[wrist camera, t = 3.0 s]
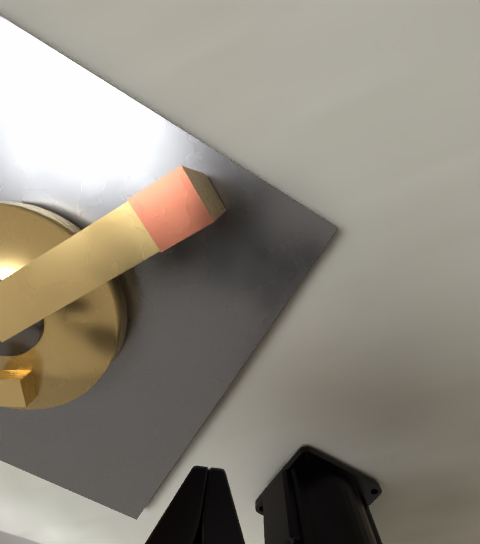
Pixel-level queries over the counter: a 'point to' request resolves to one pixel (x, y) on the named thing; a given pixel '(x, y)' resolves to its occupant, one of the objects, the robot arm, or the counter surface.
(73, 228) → the brass lever handle
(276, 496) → the robot arm
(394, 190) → the counter surface
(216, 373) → the base plate
